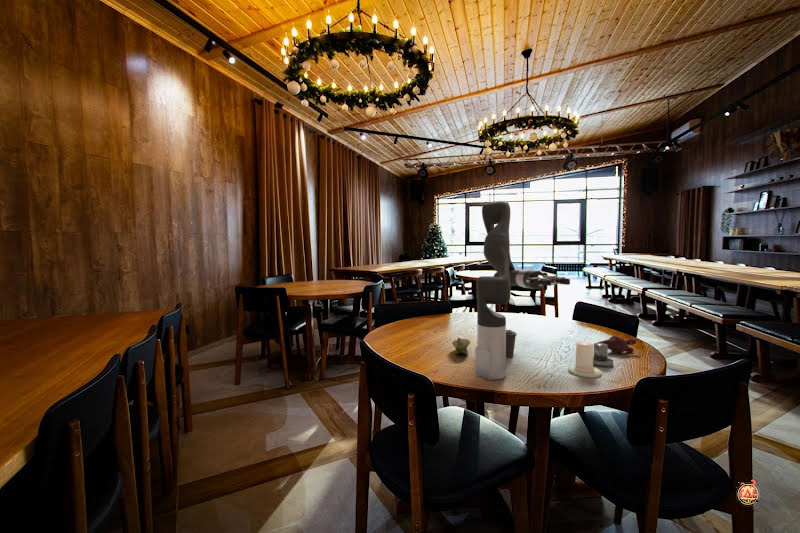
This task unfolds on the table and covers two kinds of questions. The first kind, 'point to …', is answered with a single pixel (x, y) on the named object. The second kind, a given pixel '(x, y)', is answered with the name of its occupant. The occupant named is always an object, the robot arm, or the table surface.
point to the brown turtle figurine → (619, 344)
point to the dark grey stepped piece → (601, 355)
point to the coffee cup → (510, 343)
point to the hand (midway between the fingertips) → (560, 282)
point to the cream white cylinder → (584, 357)
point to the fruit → (461, 346)
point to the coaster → (590, 375)
